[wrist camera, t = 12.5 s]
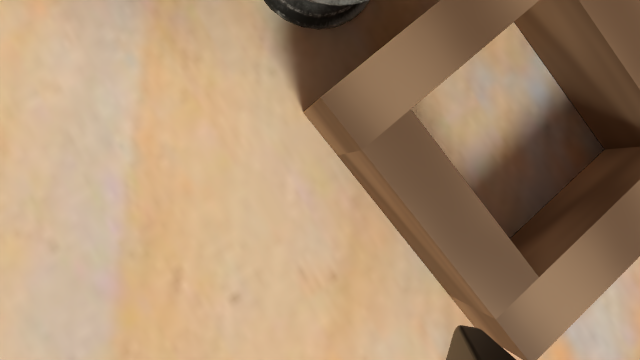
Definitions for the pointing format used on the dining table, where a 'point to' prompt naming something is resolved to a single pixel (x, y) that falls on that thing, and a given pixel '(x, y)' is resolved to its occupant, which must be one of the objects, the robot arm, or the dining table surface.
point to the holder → (457, 196)
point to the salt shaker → (317, 11)
